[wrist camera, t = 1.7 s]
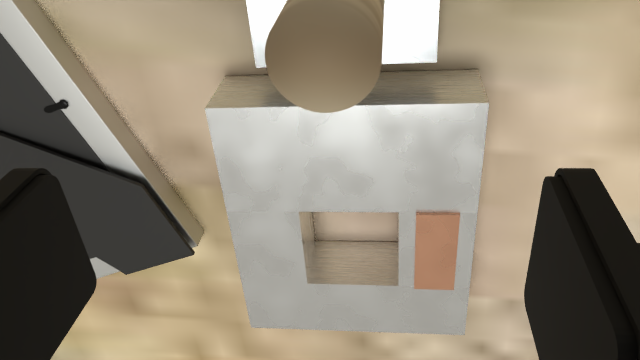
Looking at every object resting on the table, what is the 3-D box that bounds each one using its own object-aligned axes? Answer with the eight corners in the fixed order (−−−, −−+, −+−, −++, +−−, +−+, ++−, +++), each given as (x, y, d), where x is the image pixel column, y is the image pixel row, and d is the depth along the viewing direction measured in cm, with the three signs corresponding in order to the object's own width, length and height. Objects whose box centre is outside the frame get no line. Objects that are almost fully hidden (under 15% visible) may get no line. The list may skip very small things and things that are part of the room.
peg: (293, -48, 22) (257, 3, 16) (384, -54, 21) (381, -3, 15) (301, 39, 24) (272, 113, 18) (385, 37, 23) (382, 112, 17)
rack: (196, -81, 23) (166, -64, 20) (493, -101, 21) (510, -86, 18) (263, 284, 34) (250, 330, 31) (458, 289, 33) (464, 337, 30)
